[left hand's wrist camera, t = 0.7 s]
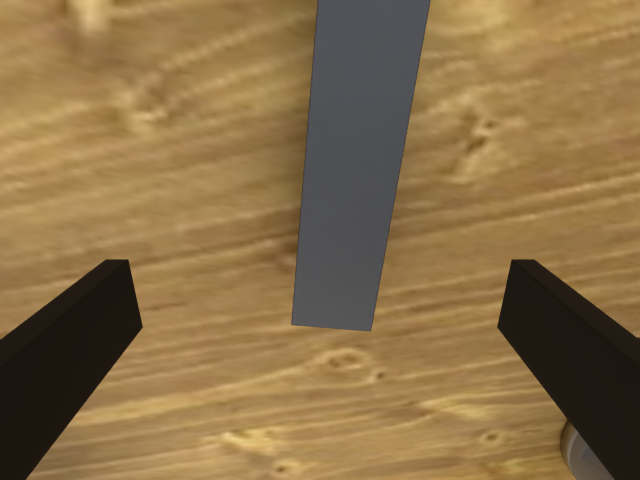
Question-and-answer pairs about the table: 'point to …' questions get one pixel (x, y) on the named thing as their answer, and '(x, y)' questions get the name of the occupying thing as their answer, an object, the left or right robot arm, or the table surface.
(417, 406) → the table surface
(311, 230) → the post
